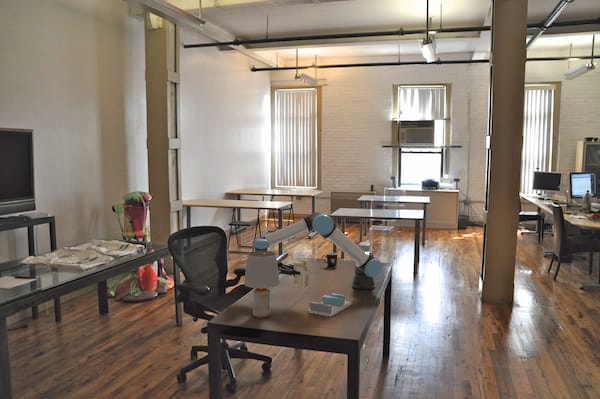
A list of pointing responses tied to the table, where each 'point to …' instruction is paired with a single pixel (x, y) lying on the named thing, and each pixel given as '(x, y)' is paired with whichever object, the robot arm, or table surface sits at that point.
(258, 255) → the lamp
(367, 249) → the hard drive box
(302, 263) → the birch block
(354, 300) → the table surface
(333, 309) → the bed
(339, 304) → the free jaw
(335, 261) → the coffee mug
